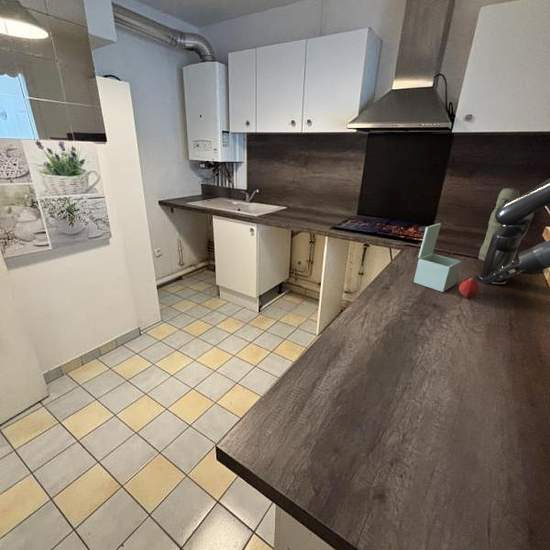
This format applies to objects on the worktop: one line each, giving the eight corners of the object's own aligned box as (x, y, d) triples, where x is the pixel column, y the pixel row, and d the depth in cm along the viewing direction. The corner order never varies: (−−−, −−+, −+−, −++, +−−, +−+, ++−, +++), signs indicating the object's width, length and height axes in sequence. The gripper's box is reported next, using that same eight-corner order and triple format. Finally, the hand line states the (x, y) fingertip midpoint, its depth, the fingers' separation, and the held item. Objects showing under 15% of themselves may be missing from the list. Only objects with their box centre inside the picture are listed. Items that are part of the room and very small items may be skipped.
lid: (441, 223, 117) (429, 221, 120) (428, 227, 110) (415, 224, 114) (433, 252, 122) (421, 249, 126) (420, 258, 115) (408, 254, 119)
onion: (453, 294, 110) (458, 274, 107) (467, 293, 111) (473, 274, 108) (463, 301, 105) (469, 281, 102) (478, 300, 106) (485, 280, 102)
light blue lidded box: (454, 284, 119) (461, 260, 115) (442, 292, 112) (449, 267, 108) (426, 275, 127) (431, 253, 123) (413, 282, 120) (418, 258, 116)
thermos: (501, 259, 148) (526, 188, 134) (494, 264, 141) (519, 190, 127) (482, 255, 154) (503, 186, 140) (474, 259, 147) (496, 188, 133)
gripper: (545, 272, 84) (487, 294, 96) (554, 262, 92) (500, 283, 105) (528, 250, 85) (473, 274, 98) (539, 242, 94) (487, 265, 106)
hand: (487, 278), depth 101 cm, fingers open, 8 cm apart
